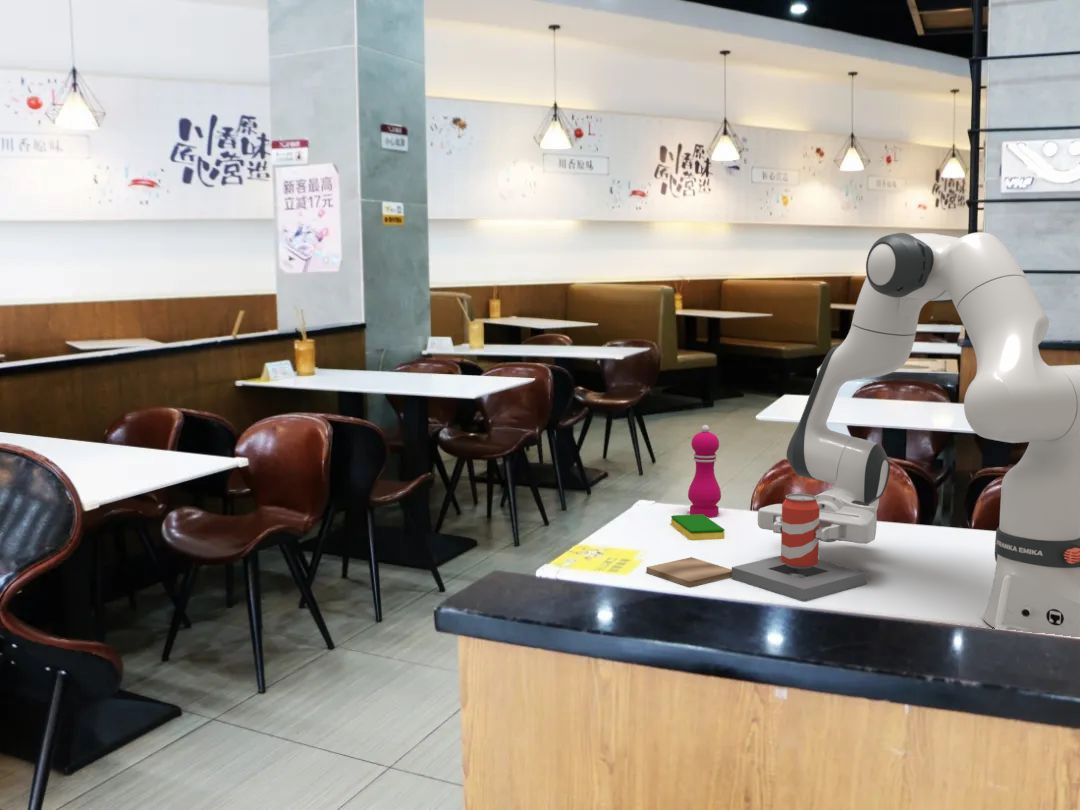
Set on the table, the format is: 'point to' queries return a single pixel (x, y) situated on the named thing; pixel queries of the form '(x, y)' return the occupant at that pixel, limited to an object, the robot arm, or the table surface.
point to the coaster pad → (690, 572)
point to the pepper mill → (704, 475)
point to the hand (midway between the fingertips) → (798, 531)
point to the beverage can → (800, 531)
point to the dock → (818, 584)
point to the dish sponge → (697, 527)
